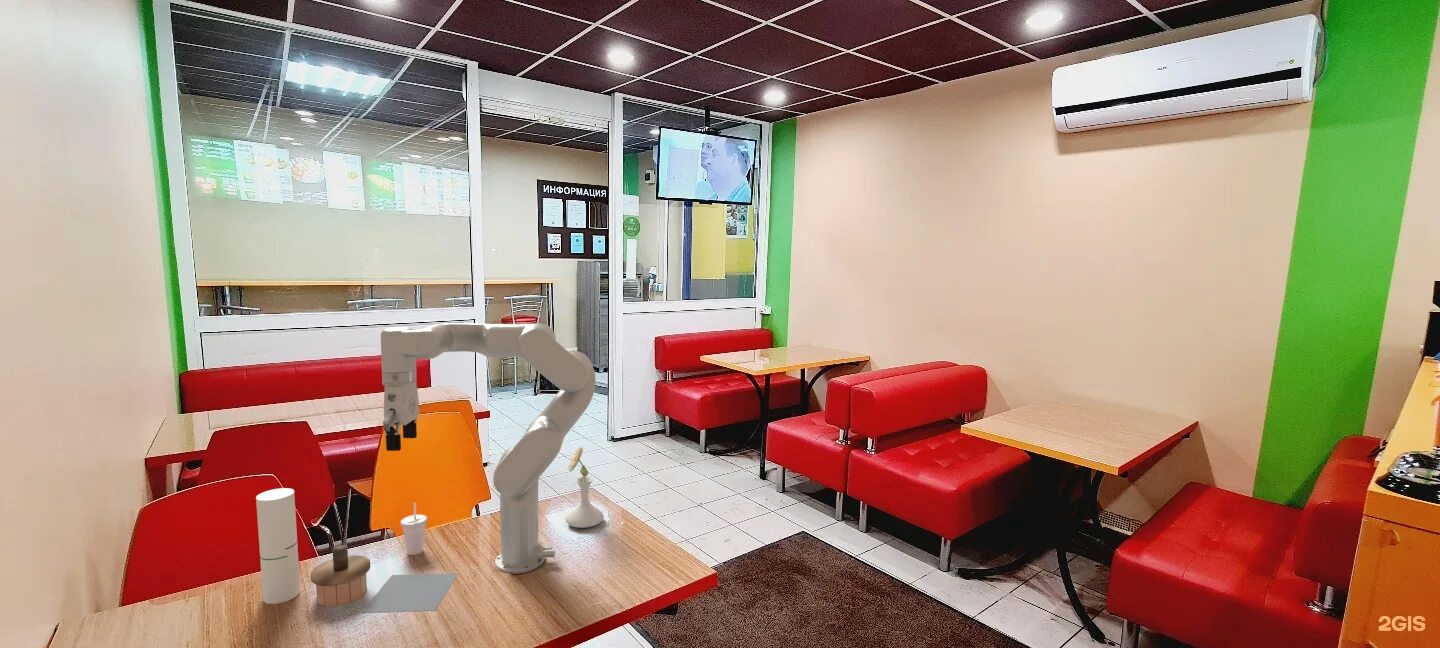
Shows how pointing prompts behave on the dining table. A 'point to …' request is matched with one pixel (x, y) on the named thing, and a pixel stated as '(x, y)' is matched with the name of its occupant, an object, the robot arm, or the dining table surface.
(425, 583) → the mat
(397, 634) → the dining table surface
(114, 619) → the dining table surface
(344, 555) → the lid
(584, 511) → the flower in vase
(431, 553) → the dining table surface
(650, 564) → the dining table surface
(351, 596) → the bowl
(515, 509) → the robot arm
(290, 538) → the cylindrical container
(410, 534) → the smoothie
